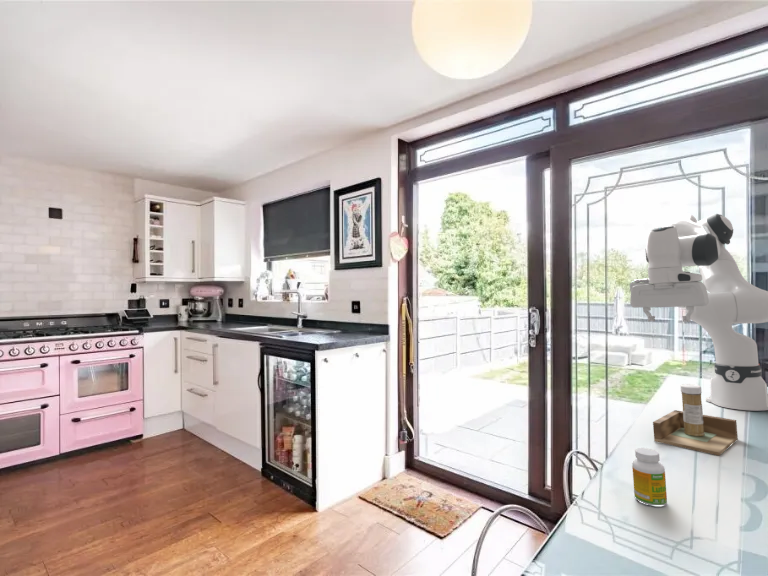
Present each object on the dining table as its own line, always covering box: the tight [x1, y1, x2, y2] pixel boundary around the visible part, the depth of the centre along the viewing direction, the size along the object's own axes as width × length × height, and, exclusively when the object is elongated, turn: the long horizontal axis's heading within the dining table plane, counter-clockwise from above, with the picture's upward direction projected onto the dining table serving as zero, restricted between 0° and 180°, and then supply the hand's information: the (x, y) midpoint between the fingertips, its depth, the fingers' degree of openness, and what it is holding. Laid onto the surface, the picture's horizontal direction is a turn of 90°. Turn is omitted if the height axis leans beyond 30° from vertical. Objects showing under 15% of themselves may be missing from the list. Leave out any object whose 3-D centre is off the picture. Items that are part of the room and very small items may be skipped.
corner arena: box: [652, 410, 739, 456], centre depth 108 cm, size 16×14×5 cm
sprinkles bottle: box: [680, 383, 704, 436], centre depth 110 cm, size 5×5×13 cm
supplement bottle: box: [631, 447, 668, 506], centre depth 79 cm, size 5×5×10 cm
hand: (668, 321), depth 124 cm, fingers open, 8 cm apart
